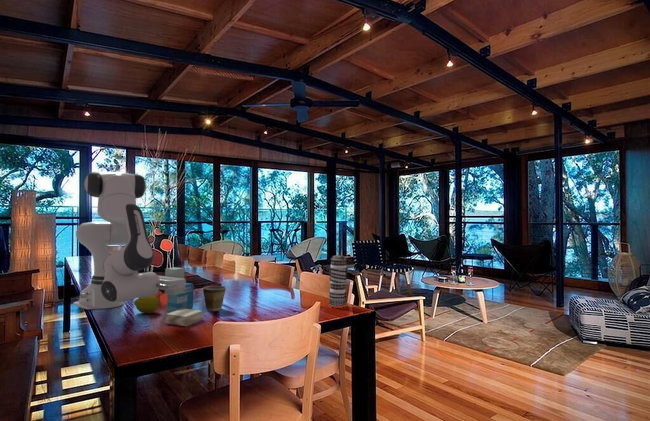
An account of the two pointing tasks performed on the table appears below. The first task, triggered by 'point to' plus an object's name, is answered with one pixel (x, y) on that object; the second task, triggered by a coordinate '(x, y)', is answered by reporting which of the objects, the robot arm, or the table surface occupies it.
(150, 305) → the lemon
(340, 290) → the decorative candle
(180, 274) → the sage block
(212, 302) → the ceramic cup
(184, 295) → the blue rounded box
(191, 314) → the birch block
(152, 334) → the table surface
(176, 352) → the table surface
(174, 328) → the table surface
